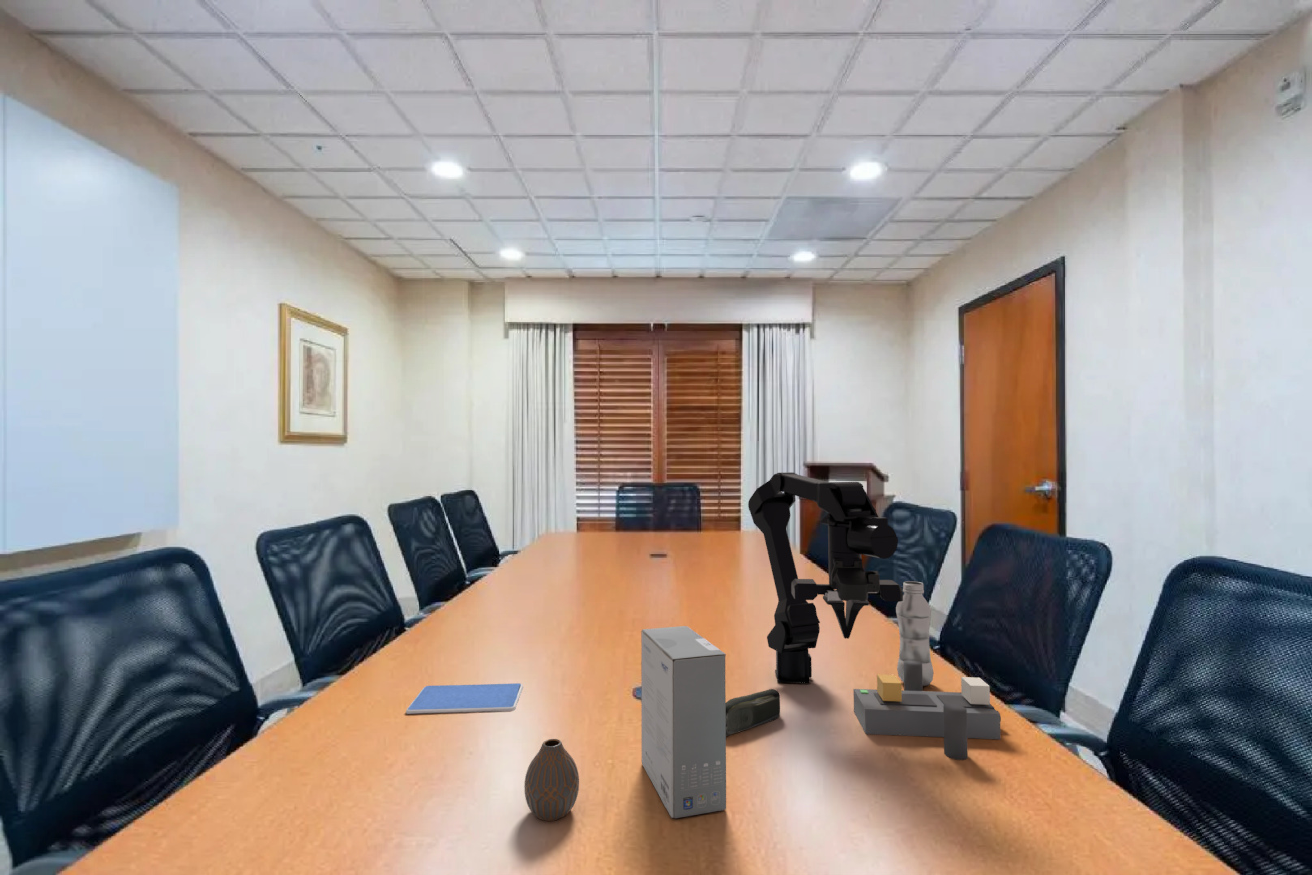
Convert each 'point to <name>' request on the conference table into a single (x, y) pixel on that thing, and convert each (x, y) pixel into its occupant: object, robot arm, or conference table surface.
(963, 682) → the toggle ivory
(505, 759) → the conference table surface
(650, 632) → the hard drive box
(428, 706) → the tablet computer
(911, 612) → the plastic bottle
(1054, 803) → the conference table surface
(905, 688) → the cylinder
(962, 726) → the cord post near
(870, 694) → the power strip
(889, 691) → the toggle amber
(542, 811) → the vase
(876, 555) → the robot arm
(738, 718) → the dark green rounded bar
